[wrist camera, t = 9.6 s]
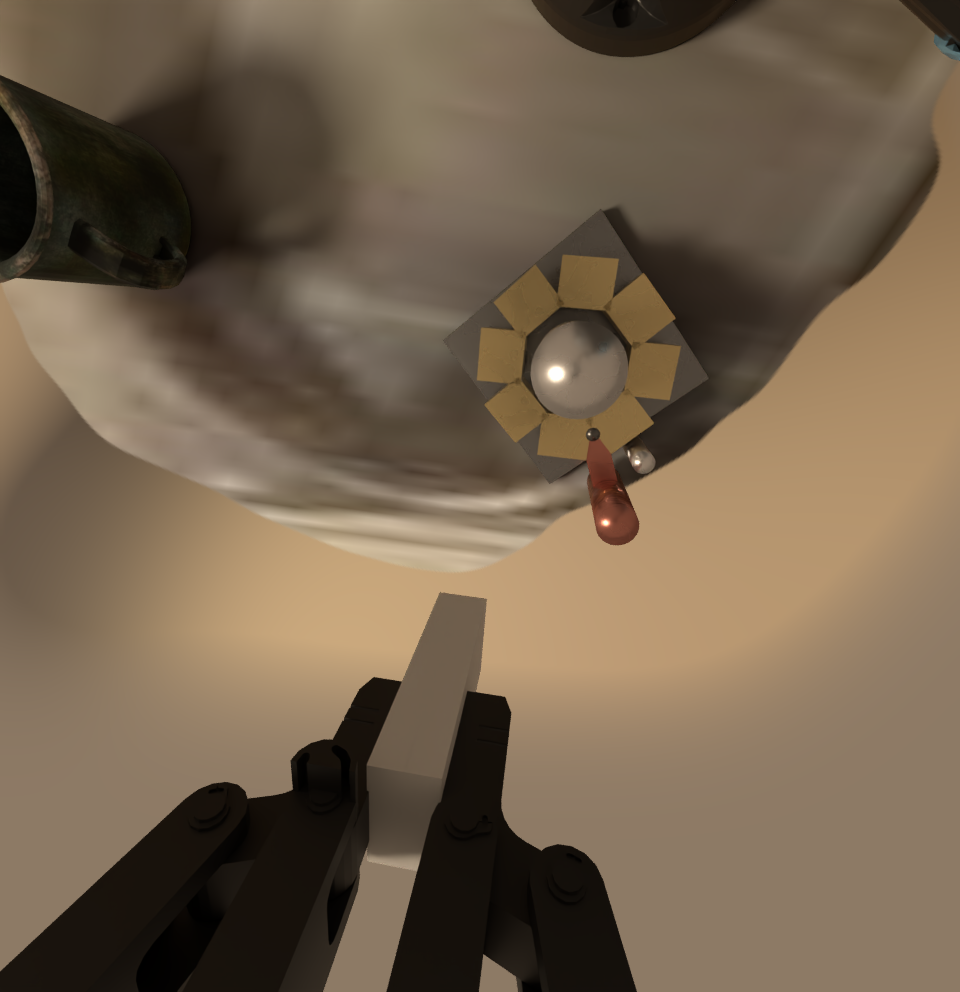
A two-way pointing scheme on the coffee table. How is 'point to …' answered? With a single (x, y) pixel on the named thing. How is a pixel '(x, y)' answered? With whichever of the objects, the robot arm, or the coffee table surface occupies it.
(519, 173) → the coffee table surface
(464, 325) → the spindle base
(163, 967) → the robot arm
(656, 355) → the toothed crank wheel
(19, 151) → the mug
